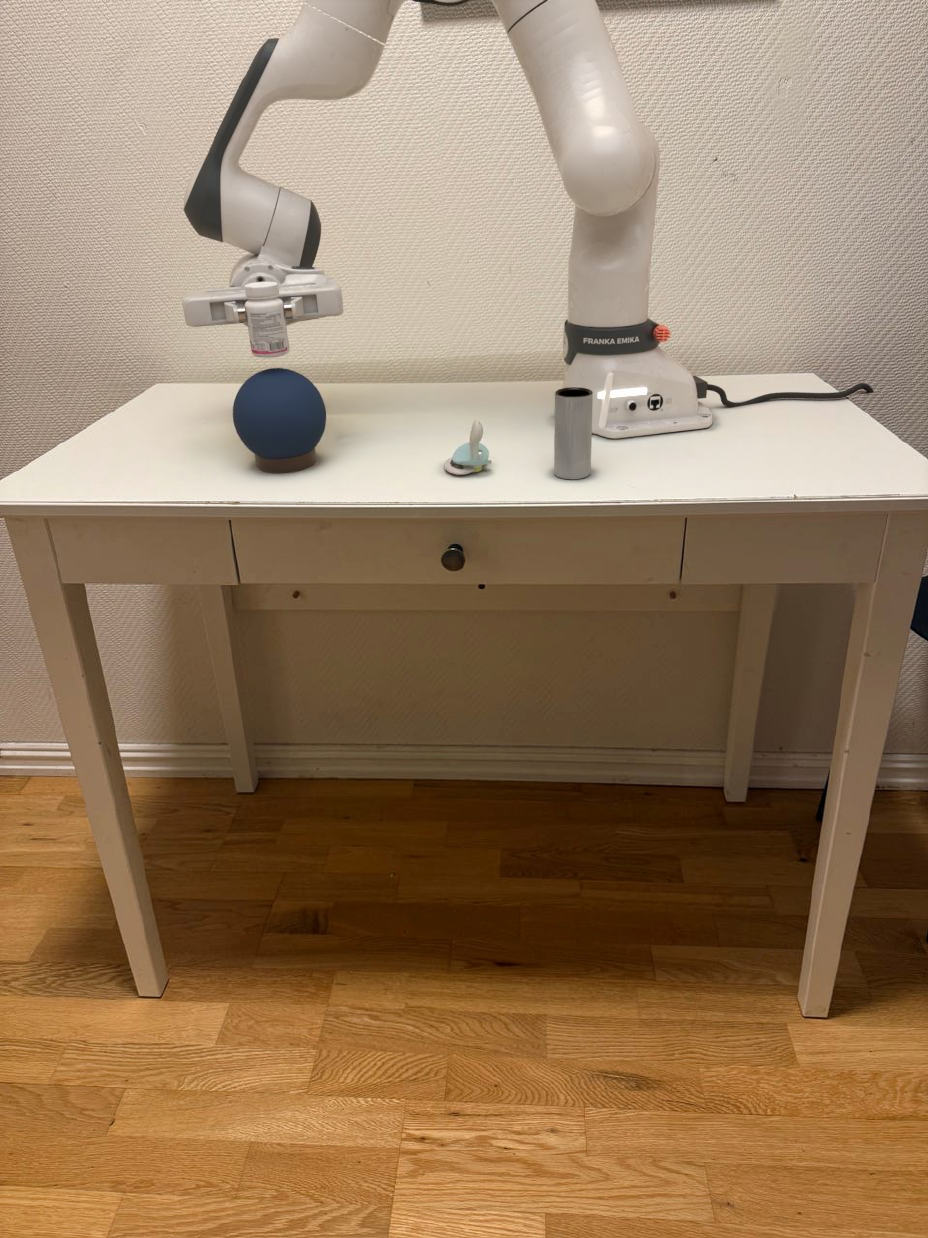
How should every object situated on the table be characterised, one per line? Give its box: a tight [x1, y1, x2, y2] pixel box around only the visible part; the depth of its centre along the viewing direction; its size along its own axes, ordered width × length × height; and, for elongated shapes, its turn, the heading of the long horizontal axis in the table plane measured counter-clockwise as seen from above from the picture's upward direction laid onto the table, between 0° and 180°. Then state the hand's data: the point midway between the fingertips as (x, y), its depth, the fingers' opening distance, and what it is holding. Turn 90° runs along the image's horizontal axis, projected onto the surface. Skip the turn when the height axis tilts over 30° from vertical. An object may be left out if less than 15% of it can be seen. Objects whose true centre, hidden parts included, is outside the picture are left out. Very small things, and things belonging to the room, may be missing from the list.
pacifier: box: [443, 419, 492, 476], centre depth 116 cm, size 7×6×6 cm
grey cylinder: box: [553, 387, 593, 480], centre depth 112 cm, size 4×4×10 cm
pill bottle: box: [245, 282, 290, 359], centre depth 113 cm, size 5×5×8 cm
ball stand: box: [254, 447, 317, 474], centre depth 122 cm, size 8×8×2 cm
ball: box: [232, 367, 327, 459], centre depth 119 cm, size 12×12×12 cm
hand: (265, 314), depth 112 cm, fingers closed on pill bottle, 5 cm apart
